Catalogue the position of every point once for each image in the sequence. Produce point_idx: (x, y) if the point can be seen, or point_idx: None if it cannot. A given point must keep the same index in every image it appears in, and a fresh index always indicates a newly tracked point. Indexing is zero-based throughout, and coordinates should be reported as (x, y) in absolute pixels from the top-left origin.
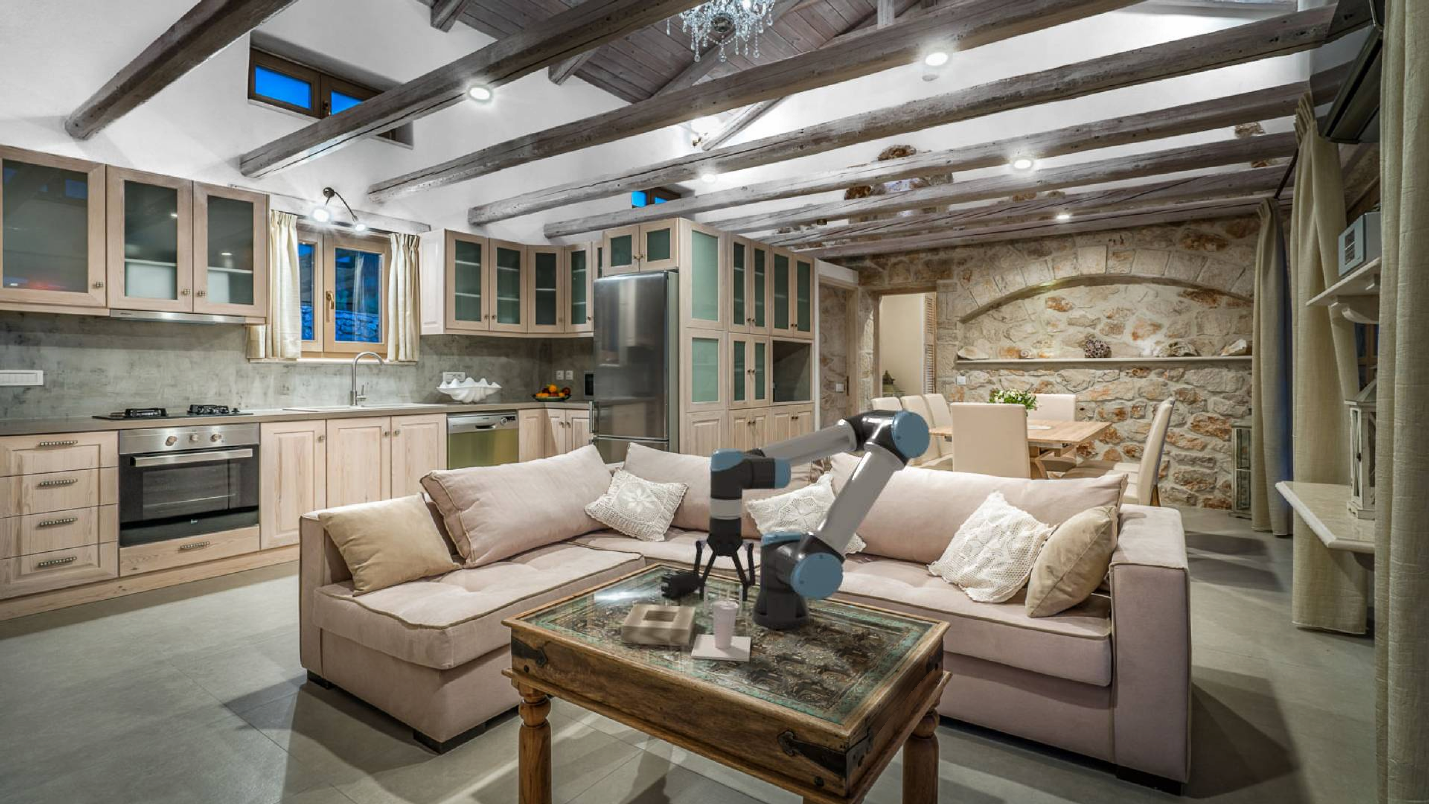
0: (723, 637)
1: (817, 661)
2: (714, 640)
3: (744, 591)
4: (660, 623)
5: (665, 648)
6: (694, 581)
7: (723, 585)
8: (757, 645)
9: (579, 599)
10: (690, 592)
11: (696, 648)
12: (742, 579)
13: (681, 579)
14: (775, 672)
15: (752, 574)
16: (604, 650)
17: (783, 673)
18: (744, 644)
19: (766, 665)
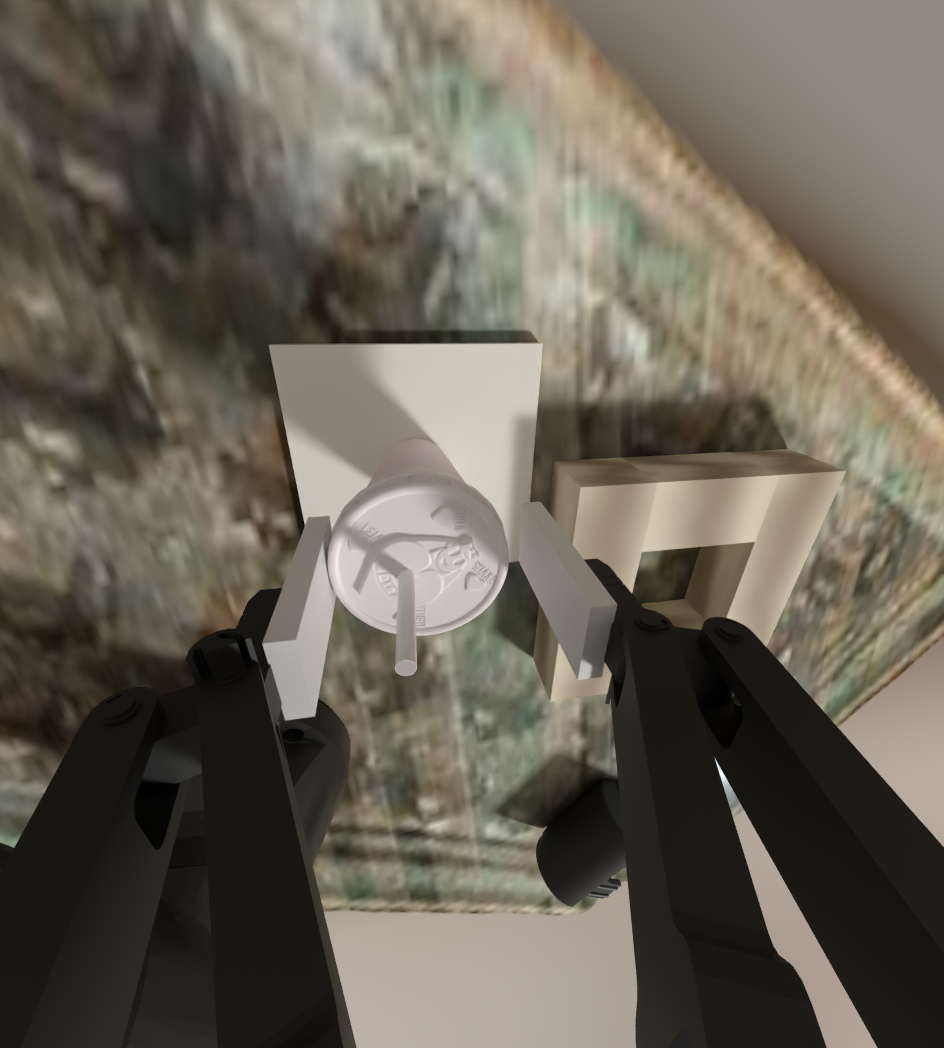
0: (411, 448)
1: None
2: None
3: (257, 643)
4: (691, 525)
5: (637, 426)
6: (722, 623)
7: (468, 882)
8: (276, 529)
9: (840, 710)
10: (556, 820)
11: (522, 424)
12: (239, 727)
13: (604, 849)
14: (89, 215)
15: (59, 821)
16: (855, 364)
17: (37, 205)
18: (326, 505)
19: (171, 310)
